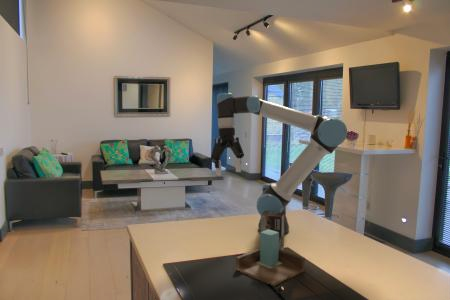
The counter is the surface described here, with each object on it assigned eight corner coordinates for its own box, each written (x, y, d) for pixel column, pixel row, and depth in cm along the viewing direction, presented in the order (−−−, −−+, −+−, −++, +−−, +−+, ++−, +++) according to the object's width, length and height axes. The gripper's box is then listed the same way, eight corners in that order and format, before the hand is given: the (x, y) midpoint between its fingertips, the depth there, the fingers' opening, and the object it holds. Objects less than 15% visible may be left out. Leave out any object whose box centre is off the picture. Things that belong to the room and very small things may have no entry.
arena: (267, 257, 155) (267, 245, 154) (304, 270, 142) (304, 258, 142) (235, 270, 143) (236, 257, 142) (273, 286, 130) (274, 272, 129)
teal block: (267, 259, 150) (268, 229, 149) (278, 262, 147) (279, 232, 145) (259, 262, 146) (260, 232, 145) (270, 266, 143) (271, 235, 142)
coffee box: (284, 249, 164) (285, 212, 162) (281, 254, 158) (282, 216, 156) (263, 246, 167) (264, 210, 165) (259, 251, 160) (260, 214, 159)
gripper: (238, 127, 187) (240, 170, 188) (201, 128, 169) (203, 176, 169) (249, 126, 182) (252, 170, 183) (213, 127, 163) (216, 177, 164)
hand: (229, 173), depth 176 cm, fingers open, 13 cm apart
